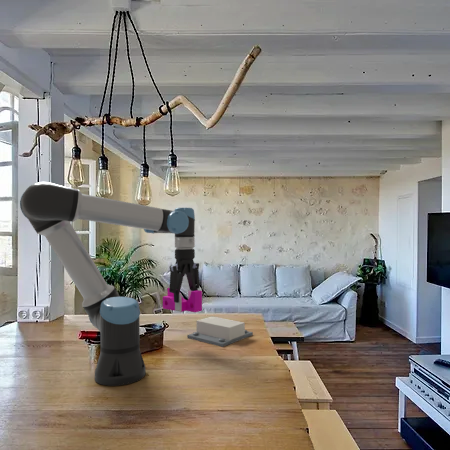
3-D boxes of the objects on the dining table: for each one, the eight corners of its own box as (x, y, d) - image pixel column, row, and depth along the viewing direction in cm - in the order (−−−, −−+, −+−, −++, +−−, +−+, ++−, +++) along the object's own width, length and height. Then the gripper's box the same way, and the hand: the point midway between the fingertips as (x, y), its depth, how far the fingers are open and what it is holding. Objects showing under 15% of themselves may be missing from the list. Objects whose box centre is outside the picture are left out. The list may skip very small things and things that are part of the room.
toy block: (162, 308, 145) (162, 288, 145) (174, 305, 149) (174, 286, 149) (190, 313, 135) (190, 293, 135) (202, 310, 140) (201, 290, 140)
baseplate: (222, 346, 142) (222, 330, 143) (187, 337, 155) (187, 322, 155) (252, 335, 158) (252, 320, 158) (218, 327, 170) (218, 314, 170)
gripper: (172, 250, 132) (172, 315, 131) (209, 247, 146) (209, 306, 146) (158, 249, 136) (158, 312, 136) (195, 247, 151) (195, 304, 151)
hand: (185, 309), depth 141 cm, fingers closed on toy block, 6 cm apart
